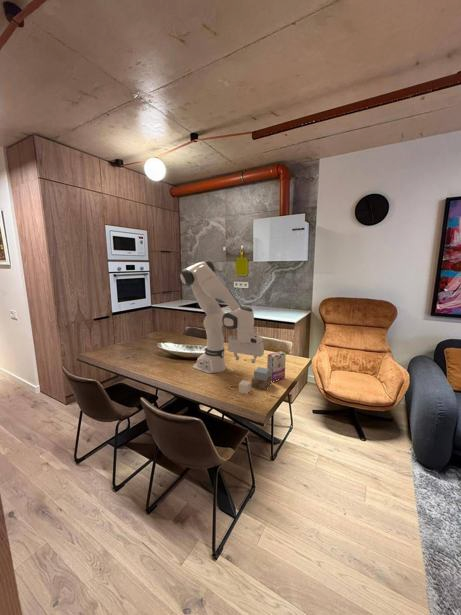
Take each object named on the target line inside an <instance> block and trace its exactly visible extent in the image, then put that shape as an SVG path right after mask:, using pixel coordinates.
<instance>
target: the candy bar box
mask: <svg viewBox="0 0 461 615" xmlns="http://www.w3.org/2000/svg"><path fill="white" fill-rule="evenodd" d="M286 355H287V354H286V352H284V351H282V350H279V351H276V352H272V353H269V354H267V363H266V364H267V366H266V369H270V371H269V376H272V380H271V381H272V382H271V383H274V382H273V381H275V382H277V381H276V380H278V379H281V378H283V379H285V378H286ZM284 377H285V378H284ZM281 380H282V379H281ZM278 381H279V380H278Z"/></svg>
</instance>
